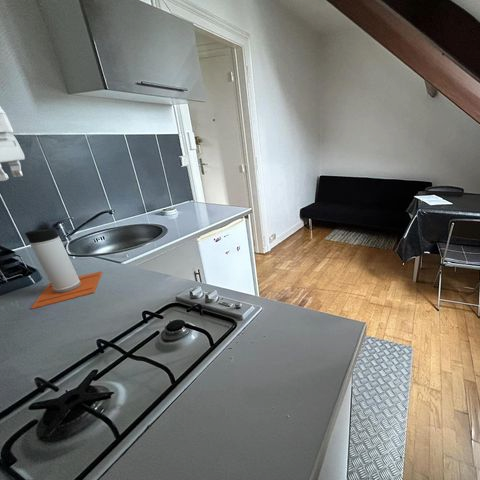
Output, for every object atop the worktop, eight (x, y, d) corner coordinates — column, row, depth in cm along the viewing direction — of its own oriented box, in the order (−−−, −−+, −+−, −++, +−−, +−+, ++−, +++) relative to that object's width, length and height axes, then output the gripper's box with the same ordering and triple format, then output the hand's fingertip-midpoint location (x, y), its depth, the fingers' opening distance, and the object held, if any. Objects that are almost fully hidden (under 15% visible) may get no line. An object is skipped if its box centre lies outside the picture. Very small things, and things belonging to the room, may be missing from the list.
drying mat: (31, 309, 73) (30, 307, 73) (49, 284, 86) (48, 283, 85) (94, 292, 79) (93, 291, 79) (102, 272, 92) (101, 270, 92)
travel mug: (49, 295, 78) (16, 233, 71) (62, 284, 84) (33, 226, 77) (73, 291, 80) (44, 230, 72) (85, 281, 86) (59, 223, 78)
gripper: (-10, 128, 76) (12, 176, 82) (-56, 123, 60) (-25, 184, 65) (19, 127, 79) (39, 173, 84) (-16, 123, 63) (11, 181, 68)
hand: (11, 178), depth 75 cm, fingers open, 8 cm apart
